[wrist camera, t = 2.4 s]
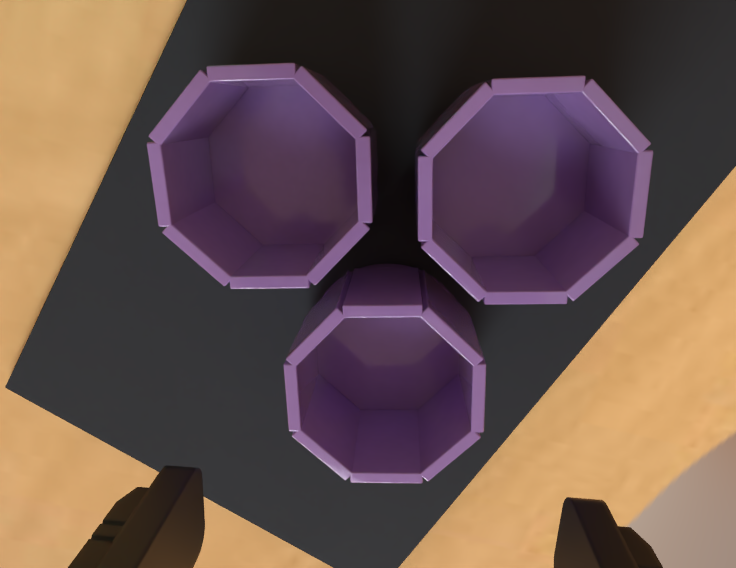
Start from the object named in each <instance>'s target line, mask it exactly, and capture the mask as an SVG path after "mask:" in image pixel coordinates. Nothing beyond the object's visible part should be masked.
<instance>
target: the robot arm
mask: <svg viewBox="0 0 736 568" xmlns="http://www.w3.org/2000/svg"><path fill="white" fill-rule="evenodd" d="M204 530H205V520H204V500H203V480H202V472H201V469H200V468H196V467H183V466H170V465H166V466H164V467H163V468H162V470H161V471H160V472H159V474H158V475H157V477H156V478H155V480H154V481H153V483H152V484H151V486H150V487H149V488H143V487H137V488H135V489H134V490H133V491H131V492H130V493H128V494H127V495H126V496H124V497H123V498H121V499H120V500H119V501H117V502H116V503H115V505H114V506H113V507H112V509H111V510H110V512H109V513H108V514H107V516H106V517H105V518H104V520H103V523H102V524H100V525H99V526H98V528H97V529H96V530H95V532H94V533H93V534H92V538H91V539H89V540H88V541H87V543H86V544H85V545H84V547H83V548H82V549H81V551H80V552H79V553H78V555H77V556H76V557H75V559H74V560H73V561H72V563H71V564H70V566H69V567H68V568H193V567H194V564H195V562H196V560H197V558H198V556H199V553H200V550H201V547H202V543H203V538H204ZM554 568H663V567H662V565H661V563H660V562H659V560H658V558H657V556H656V554H655V553H654V551H653V549H652V547H651V546H650V545H649V544H648V543H647V542H646V541H645V540H643V539H642V538H641V537H640V536H639V535H638V534H637V533H636V532H635V531H634V530H632V528H630V527H619V526H617V524H616V522H615V520H614V518H613V516H612V514H611V512H610V510H609V508H608V506H607V505H606V503H605V502H604V501H603V500H595V499H582V498H569V497H567V498H566V499H565V501H564V503H563V508H562V514H561V519H560V525H559V531H558V536H557V542H556V548H555V554H554Z"/></svg>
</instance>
